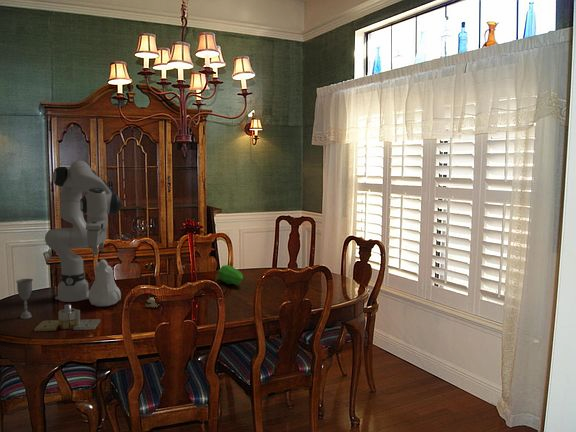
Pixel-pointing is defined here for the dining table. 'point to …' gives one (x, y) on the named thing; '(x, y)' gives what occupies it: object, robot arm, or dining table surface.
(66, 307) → the pin
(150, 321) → the dining table surface
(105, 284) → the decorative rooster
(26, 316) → the chalice
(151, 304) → the cat figure
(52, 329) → the hinge
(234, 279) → the green ridged rounded cylinder
